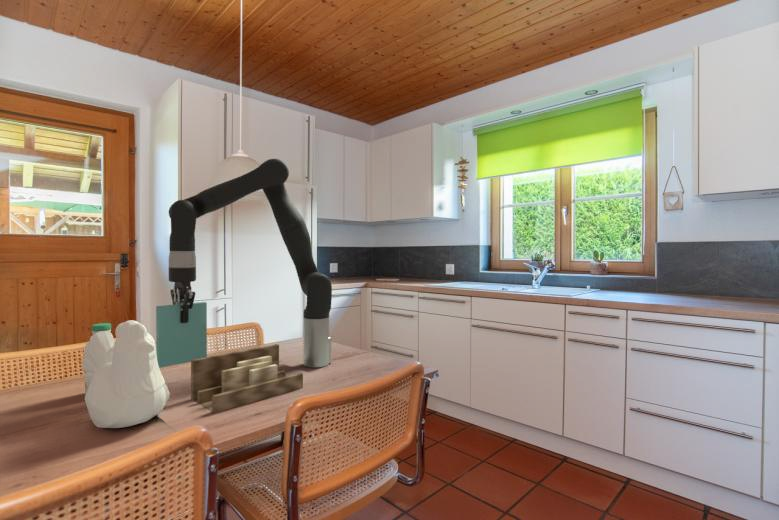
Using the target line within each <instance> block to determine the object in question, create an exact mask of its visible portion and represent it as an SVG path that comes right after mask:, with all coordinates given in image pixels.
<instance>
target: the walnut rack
mask: <svg viewBox="0 0 779 520" xmlns="http://www.w3.org/2000/svg"><path fill="white" fill-rule="evenodd" d="M264 356H272V365H274V364H275V365H277V379H274V380H270V381H266V382H262V383H259V384H255V385H251V386H247V387H243V388H239V389H235V390H231V391H227V392H224V393H222V371H223V370H227V369H232V368H237V362H240V361H245V360H250V359H255V358H260V357H264ZM303 386H304V375H303V373H301V372H298V373H294V374H290V375H286V370H280V344H277V343H276V344H275V343H274V344H270V345H266V346H265V345H263V346H259V347H254V348H250V349H249V348H248V349H244V350H237V351H231V352H227V353H221V354H217V355H215V354H214V355H211V356H207V357H204V358H199V359H194V360H191V362H190V399H191V400H192V401H194V402H195V403H196V404H198V405H200V406H202V407H203V408H205V409H207V410H208V411H210V412H212V413H213V414H218V413H221V412H224V411H227V410H231V409H234V408H238V407H242V406H246V405H248V404H252V403H256V402H259V401H262V400H266V399H270V398H272V397H275V396H276V397H277V396H278V395H283V394H286V393H290V392H293V391H296V390H300V389H303V388H304V387H303Z"/></svg>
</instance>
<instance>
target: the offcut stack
mask: <svg viewBox="0 0 779 520" xmlns="http://www.w3.org/2000/svg"><path fill="white" fill-rule="evenodd" d="M274 379H277V365H275V364H274V365H272V356H264V357H260V358H255V359H250V360H245V361H240V362H237V368H232V369H227V370H223V371H222V393H224V392H227V391H231V390H235V389H239V388H243V387H247V386H251V385H255V384H259V383H262V382H266V381H270V380H274Z"/></svg>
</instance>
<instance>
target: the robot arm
mask: <svg viewBox="0 0 779 520" xmlns="http://www.w3.org/2000/svg"><path fill="white" fill-rule="evenodd" d="M289 173H290V170H289V166H288V165H287V164H286V162H285V161H283V160H281V159H279V158H269V159H267V160H265V161H264V162H262V163H260V165H259V166H258V167H256V168H254V169H253V170H251V171H249V172H247V173H245V174H243V175H240V176H238V177H235V178H233V179H229V180H227V181H224V182H221V183H219V184H216V185H213V186H212V187H208V188H206V189H203V190H202V191H200V192H198V193H197V194H195V195H193V196H192V195H191V196H190V197H188V198H185V199H178V200H177V201H175V202H174V203H173V202H172V204H171V206H170V207H169V209H168V216H169V218H170V236H169V255H168V281H169V283H174V284H173V289H170V295H171V301H172V305H175V304H180V323H188V321H189V311H188V310H190V309H192V306H193V303H195V297H196V292H195V291H192V290H193V289H192V286H191V285H192V284H191V283H192V282H196V280H197V256H196V239H195V238H196V236H195V234H196V233H195V232H196V224H197V219H198V218H201V217H202V216H206V214H209V213H213V212H216V211H219V210H220V209H222V208H225V207H227V206H229V205H231V204H233V203H235V202H237V201H239V200H241V199H242V198H245V197H246V196H249V195H250V194H253V193H255V192H257V191H260V190H262V191H263V193H264V195H265V197H266V199H267V201H268V203H269V205H270V207H271V211H272V213H273V216H274V218H275V219H274V220H275V221H276V224H277V227H278V229H279V233H280V236H281V237H282V241H283V243H284V245H285V247H286V250H287V251H288V254H289V256H290V258H291V260H292V263H293V264H294V267H295V270H296V274H297V278H298V280H299V281H298V282H299V284H300V288H301V291H302V293H304V295H305V296H306V306H305V308H304V310H303V350H302V351H303V355H302V356H303V361H302V363H303V366H304V367H306V368H322V367H327V366H328V365H329V363H330V364H332V337H330V312H331V309H332V298H333V297H332V296H333V295H332V293H333V291H332V289H333V288H332V282H331V279H330V277H329V276H327V275H325V274H323V273H320V271H319V269H318V267H317V265H316V263H315V260H314V257H313V251H312V242H311V235H310V233H309V229H308V227H307V225H306V223H305V222H306V221H305V220H304V218H303V216H302V214H301V213H300V212H299V210H298V209H297V208H296V206H295V205H294V203H293V202H292V201H291V199H290V196H289V194H288V192H287V188H286V186H285V185H286V184H285V183H286V181H287V180H288V178H289V176H290V175H289ZM186 304H187V305H186Z"/></svg>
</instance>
